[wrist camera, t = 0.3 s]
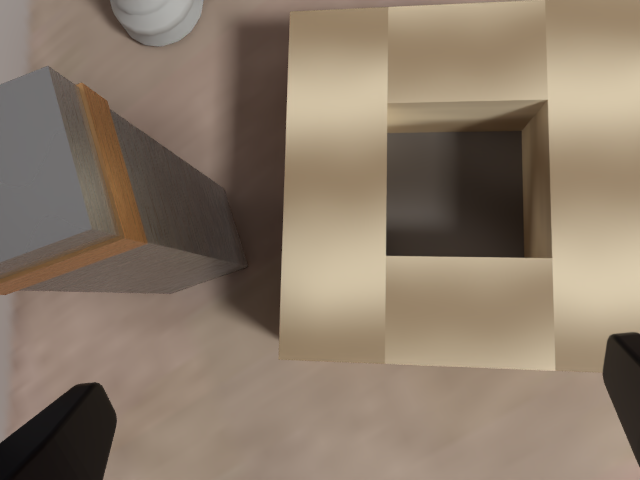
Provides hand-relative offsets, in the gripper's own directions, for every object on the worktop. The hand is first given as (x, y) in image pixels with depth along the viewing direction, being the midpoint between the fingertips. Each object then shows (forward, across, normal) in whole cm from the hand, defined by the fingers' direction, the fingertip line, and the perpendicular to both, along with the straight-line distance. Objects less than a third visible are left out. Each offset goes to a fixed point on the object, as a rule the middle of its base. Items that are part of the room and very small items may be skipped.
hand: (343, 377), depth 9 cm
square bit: (+14, +8, +4) cm, 17 cm away
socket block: (+14, -4, +4) cm, 16 cm away
